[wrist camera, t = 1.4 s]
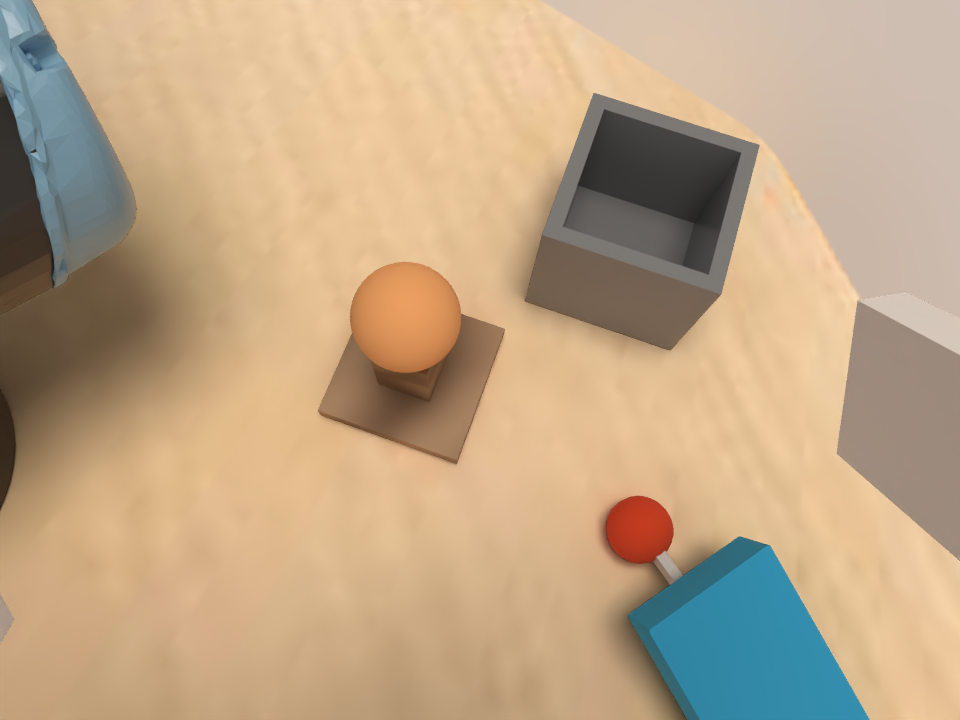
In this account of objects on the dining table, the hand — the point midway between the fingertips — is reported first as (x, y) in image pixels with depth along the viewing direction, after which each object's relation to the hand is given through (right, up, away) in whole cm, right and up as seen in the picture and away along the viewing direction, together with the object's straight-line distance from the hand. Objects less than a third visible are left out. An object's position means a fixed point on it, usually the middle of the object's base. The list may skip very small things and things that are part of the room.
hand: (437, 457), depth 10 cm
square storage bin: (+9, +7, +32) cm, 34 cm away
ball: (-3, +3, +21) cm, 22 cm away
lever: (+13, -14, +26) cm, 32 cm away
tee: (-3, +1, +29) cm, 30 cm away
